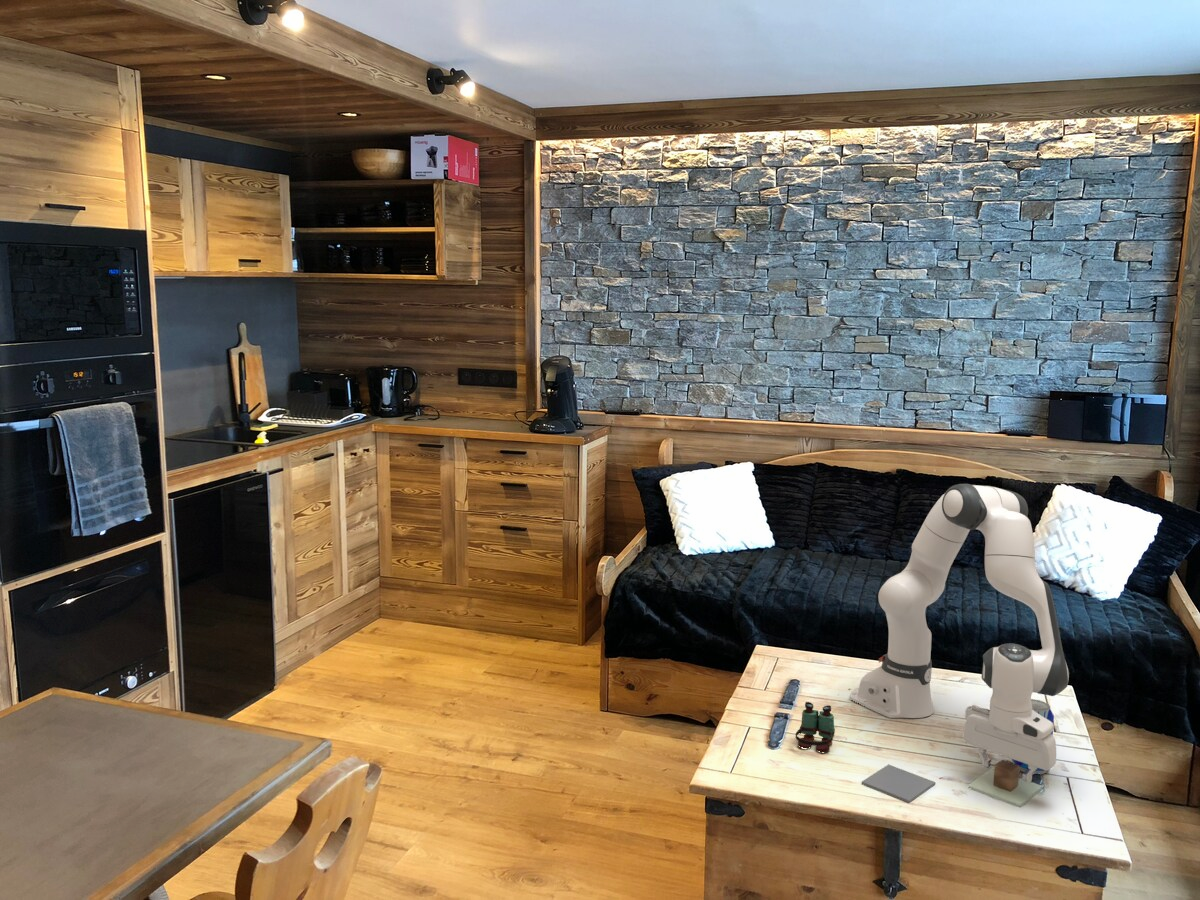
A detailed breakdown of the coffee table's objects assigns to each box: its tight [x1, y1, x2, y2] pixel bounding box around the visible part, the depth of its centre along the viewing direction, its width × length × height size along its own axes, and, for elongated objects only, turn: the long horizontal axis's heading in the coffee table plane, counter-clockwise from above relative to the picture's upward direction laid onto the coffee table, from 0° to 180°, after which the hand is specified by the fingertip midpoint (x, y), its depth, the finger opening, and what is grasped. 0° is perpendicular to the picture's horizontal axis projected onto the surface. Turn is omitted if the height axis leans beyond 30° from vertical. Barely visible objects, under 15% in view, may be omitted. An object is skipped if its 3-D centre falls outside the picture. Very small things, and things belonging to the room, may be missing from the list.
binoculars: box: [795, 701, 836, 753], centre depth 242 cm, size 9×11×10 cm
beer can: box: [1011, 698, 1055, 775], centre depth 231 cm, size 8×8×16 cm
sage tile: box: [967, 767, 1044, 808], centre depth 223 cm, size 12×12×1 cm
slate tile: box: [861, 764, 936, 804], centre depth 224 cm, size 12×12×1 cm
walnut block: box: [993, 759, 1020, 792], centre depth 222 cm, size 4×4×5 cm
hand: (1006, 773), depth 222 cm, fingers open, 8 cm apart
